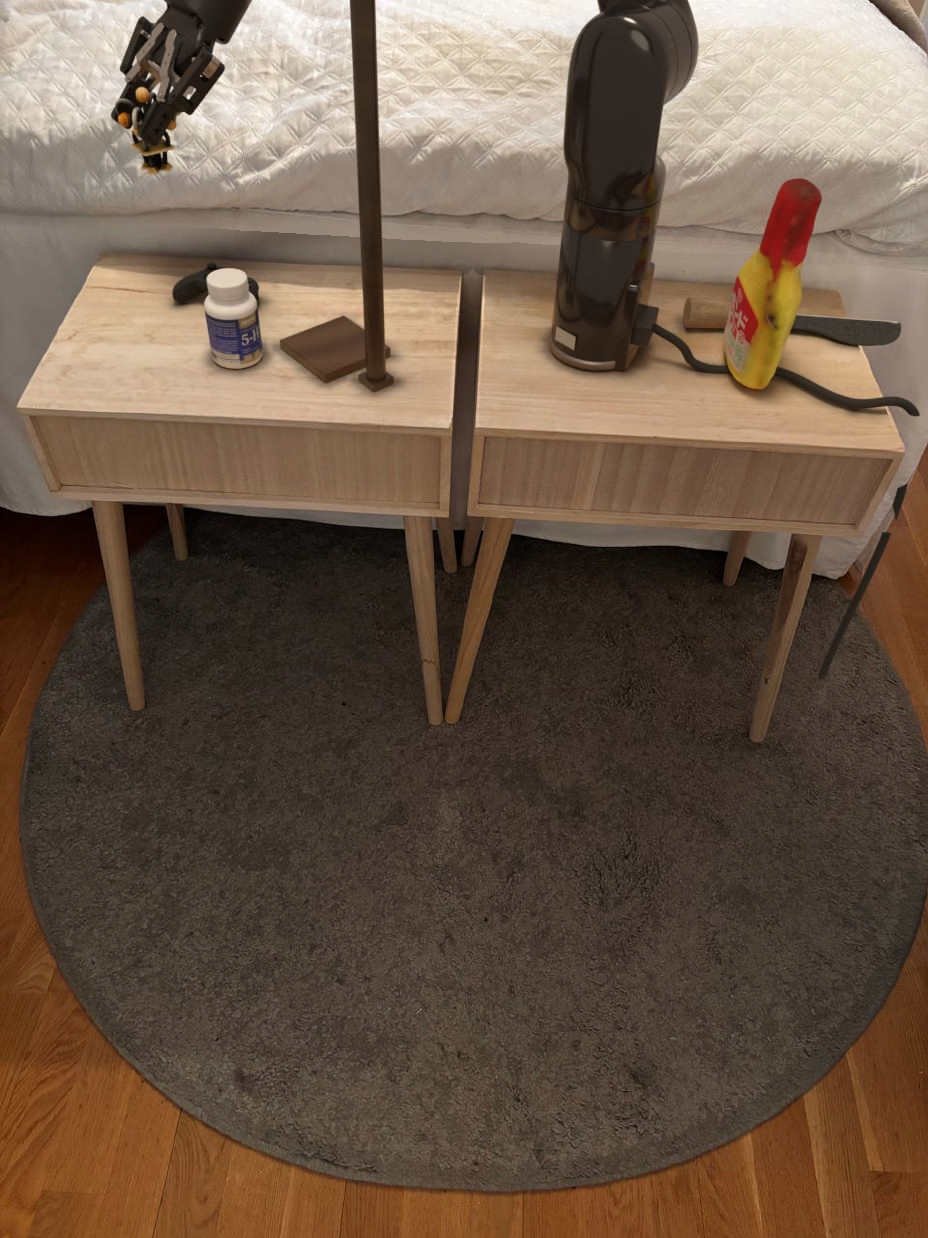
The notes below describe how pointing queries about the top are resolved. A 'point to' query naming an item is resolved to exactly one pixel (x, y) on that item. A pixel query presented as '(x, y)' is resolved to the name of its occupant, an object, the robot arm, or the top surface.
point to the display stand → (341, 339)
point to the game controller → (202, 285)
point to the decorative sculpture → (148, 151)
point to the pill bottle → (232, 319)
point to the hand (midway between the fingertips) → (132, 131)
